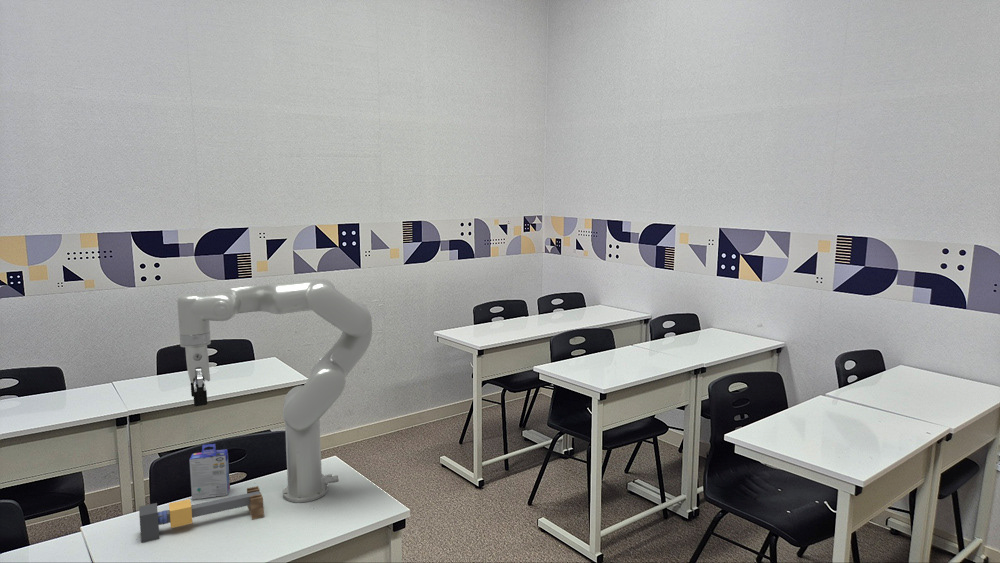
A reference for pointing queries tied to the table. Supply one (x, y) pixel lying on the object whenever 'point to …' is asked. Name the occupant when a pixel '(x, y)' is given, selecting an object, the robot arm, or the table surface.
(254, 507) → the brown wooden block
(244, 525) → the table surface
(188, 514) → the tan sliding collar
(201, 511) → the long gray square bar
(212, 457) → the ink cartridge box
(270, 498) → the table surface
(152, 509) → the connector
